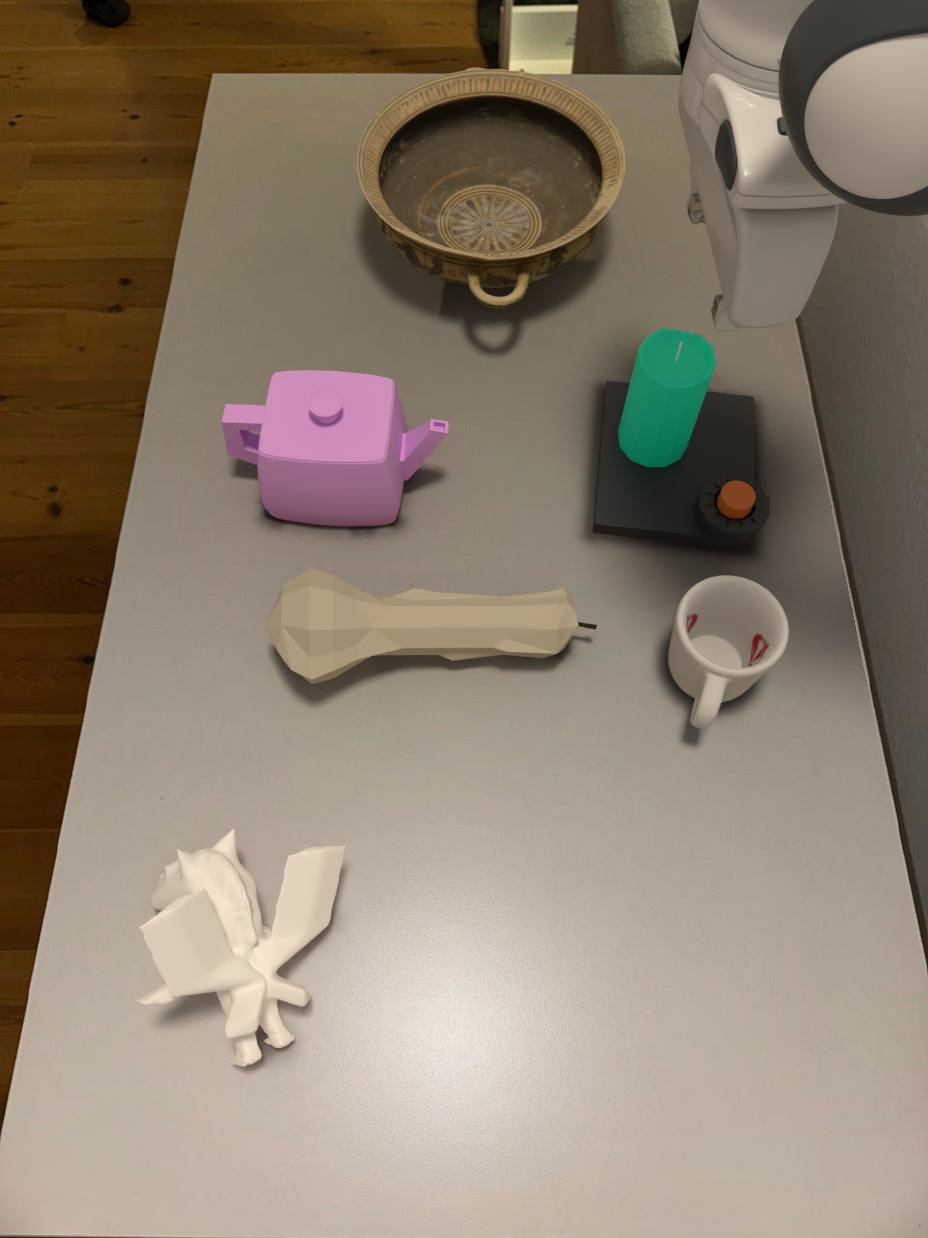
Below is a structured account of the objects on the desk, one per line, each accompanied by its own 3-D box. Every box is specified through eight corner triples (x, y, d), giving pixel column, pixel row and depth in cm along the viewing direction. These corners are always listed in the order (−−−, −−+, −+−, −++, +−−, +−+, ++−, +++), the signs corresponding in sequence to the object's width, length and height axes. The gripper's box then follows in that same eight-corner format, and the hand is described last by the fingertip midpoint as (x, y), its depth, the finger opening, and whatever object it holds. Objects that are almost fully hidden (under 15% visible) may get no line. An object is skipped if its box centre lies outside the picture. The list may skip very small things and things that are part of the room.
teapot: (452, 433, 89) (452, 354, 80) (443, 537, 85) (443, 465, 75) (247, 422, 90) (224, 341, 80) (227, 524, 85) (200, 451, 76)
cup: (739, 763, 76) (770, 725, 69) (636, 730, 77) (655, 689, 70) (768, 639, 81) (799, 592, 74) (670, 610, 82) (691, 560, 75)
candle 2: (272, 585, 81) (584, 581, 83) (272, 692, 80) (589, 686, 82) (259, 558, 73) (606, 554, 74) (257, 677, 71) (613, 671, 73)
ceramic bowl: (363, 139, 106) (355, 47, 97) (593, 133, 107) (606, 43, 98) (365, 367, 92) (356, 286, 84) (628, 359, 93) (647, 278, 84)
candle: (701, 438, 88) (737, 341, 77) (658, 480, 86) (688, 387, 75) (646, 399, 90) (674, 299, 79) (603, 439, 88) (625, 343, 77)
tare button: (750, 492, 84) (756, 482, 82) (750, 521, 83) (756, 511, 81) (716, 488, 84) (721, 478, 83) (716, 517, 83) (720, 507, 81)
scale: (759, 407, 91) (769, 385, 88) (760, 555, 84) (770, 536, 82) (604, 390, 92) (609, 367, 89) (592, 536, 85) (597, 516, 82)
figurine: (301, 1002, 75) (249, 816, 76) (396, 1006, 67) (337, 797, 68) (109, 1101, 65) (52, 884, 66) (193, 1120, 57) (127, 872, 58)
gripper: (679, -45, 59) (641, 159, 71) (746, 207, 50) (689, 392, 62) (787, -49, 59) (730, 156, 71) (874, 201, 50) (792, 387, 62)
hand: (712, 267), depth 67 cm, fingers open, 8 cm apart
